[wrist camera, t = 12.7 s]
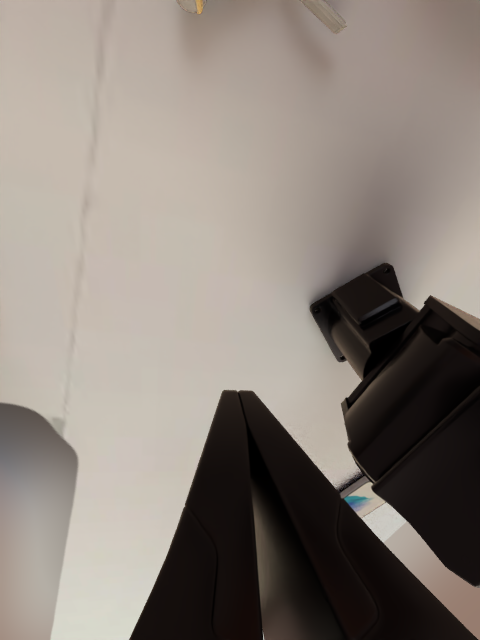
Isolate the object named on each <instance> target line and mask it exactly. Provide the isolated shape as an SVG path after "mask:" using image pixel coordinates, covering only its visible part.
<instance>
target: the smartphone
mask: <svg viewBox="0 0 480 640" xmlns="http://www.w3.org/2000/svg"><path fill="white" fill-rule="evenodd" d="M372 485H373V484H372V483H371V482H370V481H369V480H368V479H367V478H366V476H364V477H362V478H361V479H359V480H358V481H356V482H355V483H353V484H352V485H351V486H349V487H348V488H346V489H345V490H344V491H342V492H341V493H339V494H340V495H341V498H344V499H345V500H346V502H347V503H348V504H349V505H350V506H351V508H352V509H353V510H354V511H355V512H356V513H357V515H358V516H359V517H360V518H362V517H364V516H366V515H367V514H369V513H370V512H372V511H373V510H375V509H376V508H378V507H380V506H381V505H383V504H384V503H386V502H385V501H384V500H383V499H381V498H380V497H379V496H377V495H376V494H375V493H374V492H373V491H372V489H371V486H372Z"/></svg>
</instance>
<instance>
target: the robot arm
mask: <svg viewBox="0 0 480 640" xmlns="http://www.w3.org/2000/svg"><path fill="white" fill-rule="evenodd" d="M386 268H387V270H386V271H385V272H384V273H383V271H384V270H385V269H386ZM424 304H425V305H424V307H423V308H422V309H421V310H420V311H419V310H418V309H417V308H415V307H414V306H413V305H411V304H410V303H408V302H407V301H406V300H404V299H403V296H402V293H401V290H400V287H399V284H398V281H397V277H396V274H395V271H394V268H393V266H392V265H390V264H388V263H383V264H381V265H379V266H377V267H376V268H374V269H372V270H370V271H369V272H367V273H365V274H362V275H360V276H358V277H357V278H355V279H353V280H351V281H350V282H348V283H346V284H345V285H343V286H341V287H339V288H338V289H336V290H334V291H333V292H332V293H330V294H328V295H327V296H325V297H323V298H321V299H320V300H318V301H316V302H314V303H313V304H312V305H311V306H310V312H311V314H312V315H313V317H314V319H315V321H316V323H317V325H318V326H319V328H320V330H321V332H322V334H323V336H324V337H325V339H326V341H327V343H328V345H329V347H330V348H331V350H332V352H333V354H334V356H335V358H336V359H337V360H338V361H339V362H344V361H346V360H347V361H348V362H349V363H350V365H351V366H352V368H353V369H354V371H355V372H356V373H357V375H358V376H359V378H360V379H361V380H362V382H361V383H360V384H359V385H358V386H357V388H356V389H355V390H354V391H353V392H352V394H351V395H350V396H349V397H348V398H345V400H344V401H343V402H342V403H341V406H342V411H343V416H344V421H345V426H346V431H347V436H348V440H349V442H348V448H349V451H350V452H351V454H352V456H353V459H354V460H355V463H356V465H357V466H358V467H359V469H360V470H361V472H362V473H363V474H364V475H365V476H366V478H367V479H368V480H369V481H370V482H371V483H372V484H373V485H372V486H371V489H372V491H373V492H374V493H375V494H376V495H377V496H379V497H380V498H381V499H383V500H384V501H385V502H387V503H388V504H389V505H391V506H392V507H393V508H394V509H395V510H396V511H397V512H398V513H399V514H400V515H401V516H403V517H404V518H405V519H406V520H407V521H408V522H409V523H410V524H411V526H412V527H413V528H414V529H415V530H416V531H417V533H418V534H419V535H420V536H421V537H422V539H423V540H424V541H425V542H426V543H427V545H428V546H429V547H430V548H431V550H432V551H433V552H434V553H435V555H436V556H437V557H438V558H439V560H440V561H441V562H442V563H443V564H444V565H445V567H447V568H448V569H449V570H450V571H452V572H454V573H455V574H456V575H458V576H459V577H461V578H462V579H463V580H465V581H467V582H468V583H469V584H471V585H472V586H474V587H477V588H480V319H478V318H476V317H474V316H472V315H470V314H468V313H466V312H464V311H462V310H460V309H458V308H456V307H454V306H452V305H449V304H447V303H445V302H443V301H441V300H439V299H437V298H435V297H433V296H431V295H430V296H429V297H428V299H427V300H426V301H425V302H424ZM318 307H319V309H318V310H317V311H315V309H316V308H318ZM342 355H343V356H342ZM341 356H342V357H341ZM262 628H263V629H262ZM263 634H264V640H478V639H477V638H476V637H475V636H474V635H473V634H472V633H471V632H470V631H469V630H468V629H466V627H465V626H464V625H463V624H462V623H461V622H460V621H459V620H458V619H457V618H456V617H455V616H454V615H453V614H452V613H451V612H450V611H449V610H448V609H447V608H446V607H445V606H444V605H443V604H442V603H441V602H440V601H439V600H438V599H437V598H436V597H435V596H434V595H433V594H432V593H431V592H430V591H429V590H428V589H427V588H426V587H425V586H424V585H423V584H422V583H421V582H420V581H419V580H418V579H417V578H416V577H415V576H414V575H413V574H412V573H411V572H410V571H409V570H408V569H407V568H406V567H405V566H404V564H403V563H402V562H401V561H400V560H399V559H398V558H397V557H396V556H395V555H394V554H393V553H392V552H391V551H390V550H389V549H388V548H387V547H386V546H385V545H384V543H383V542H382V541H381V540H380V539H379V538H378V537H377V536H376V535H375V534H374V533H373V532H372V530H371V529H370V528H369V527H368V526H367V525H366V524H365V522H364V521H363V520H362V519H361V518H360V517H359V516H358V515H357V513H356V512H355V511H354V510H353V509H352V508H351V506H350V505H349V504H348V503H347V502H346V500H345V499H344V498H341V495H340V494H339V492H338V491H337V490H336V489H335V488H334V486H333V485H332V484H331V483H330V482H329V480H328V479H327V478H326V477H325V476H324V475H323V473H322V472H321V471H320V470H319V469H318V467H317V466H316V465H315V464H314V463H313V462H312V460H311V459H310V458H309V457H308V456H307V454H306V453H305V452H304V451H303V450H302V448H301V447H300V446H299V445H298V444H297V443H296V441H295V440H294V439H293V438H292V437H291V435H290V434H289V433H288V432H287V431H286V430H285V428H284V427H283V426H282V425H281V424H280V422H279V421H278V420H277V419H276V418H275V417H274V415H273V414H272V413H271V412H270V411H269V409H268V408H267V407H266V406H265V405H264V403H263V402H262V401H261V400H260V399H259V398H258V396H257V395H256V394H255V393H254V392H253V391H246V390H240V391H238V392H237V391H236V390H224V391H222V394H221V397H220V400H219V403H218V406H217V409H216V412H215V415H214V418H213V421H212V424H211V427H210V430H209V433H208V436H207V439H206V442H205V445H204V448H203V451H202V454H201V457H200V460H199V463H198V467H197V470H196V473H195V476H194V479H193V482H192V485H191V488H190V491H189V494H188V497H187V500H186V503H185V507H184V508H183V511H182V514H181V517H180V520H179V523H178V526H177V529H176V532H175V535H174V537H173V540H172V543H171V546H170V548H169V551H168V554H167V556H166V559H165V561H164V563H163V566H162V568H161V570H160V573H159V575H158V577H157V580H156V582H155V584H154V587H153V589H152V591H151V593H150V596H149V598H148V600H147V602H146V604H145V606H144V609H143V611H142V613H141V615H140V617H139V619H138V622H137V624H136V626H135V628H134V630H133V632H132V635H131V637H130V639H129V640H263Z"/></svg>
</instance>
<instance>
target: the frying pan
mask: <svg viewBox="0 0 480 640" xmlns="http://www.w3.org/2000/svg"><path fill="white" fill-rule="evenodd" d="M206 1H207V0H177V2H178V4H179V5H180V6H181V7H182V8H183V9H184V10H186V11H187V12H191V13H195V12H196V13H197V14H201V12H202V10H203V7H204V5H205V3H206ZM300 1H301V2H302V3H303V4H304V5H305V6H306V7H307V8H308V9H309V10H310V11H311V12H312V13H313V14H314V15H316V16H317V17H318V18H319V19H320V20H321V21H322V22H323V23H324V24H325V25H326V26H327V27H328V28H329V29H330V30H331V31H332V32H333V33H334V34H338V33H339V32H340V31H342V30H343V29H344V28H345V27H347V26H346V22H345V20H344V19H343V18H342V17H341V16H340V15H339V14H338V13H337V12H336V11H335V10H334V9H333V8H332V7H331V6H330V5H329V4H328V3H327V2H326V1H325V0H300Z"/></svg>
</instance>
